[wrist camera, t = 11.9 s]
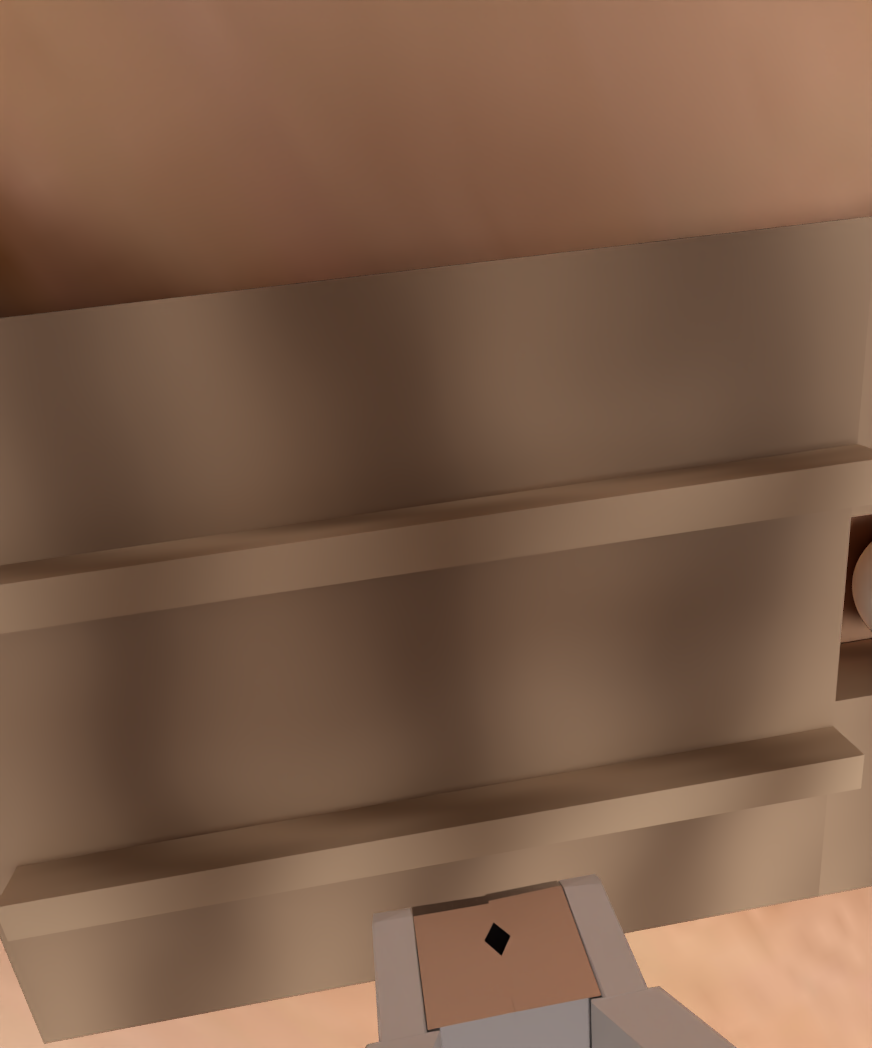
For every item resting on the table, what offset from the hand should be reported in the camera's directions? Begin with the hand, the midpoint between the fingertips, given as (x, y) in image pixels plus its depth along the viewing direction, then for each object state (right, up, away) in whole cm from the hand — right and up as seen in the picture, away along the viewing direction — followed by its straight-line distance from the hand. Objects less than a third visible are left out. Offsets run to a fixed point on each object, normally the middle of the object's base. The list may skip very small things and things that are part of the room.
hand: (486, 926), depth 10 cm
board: (+4, +3, +10) cm, 11 cm away
